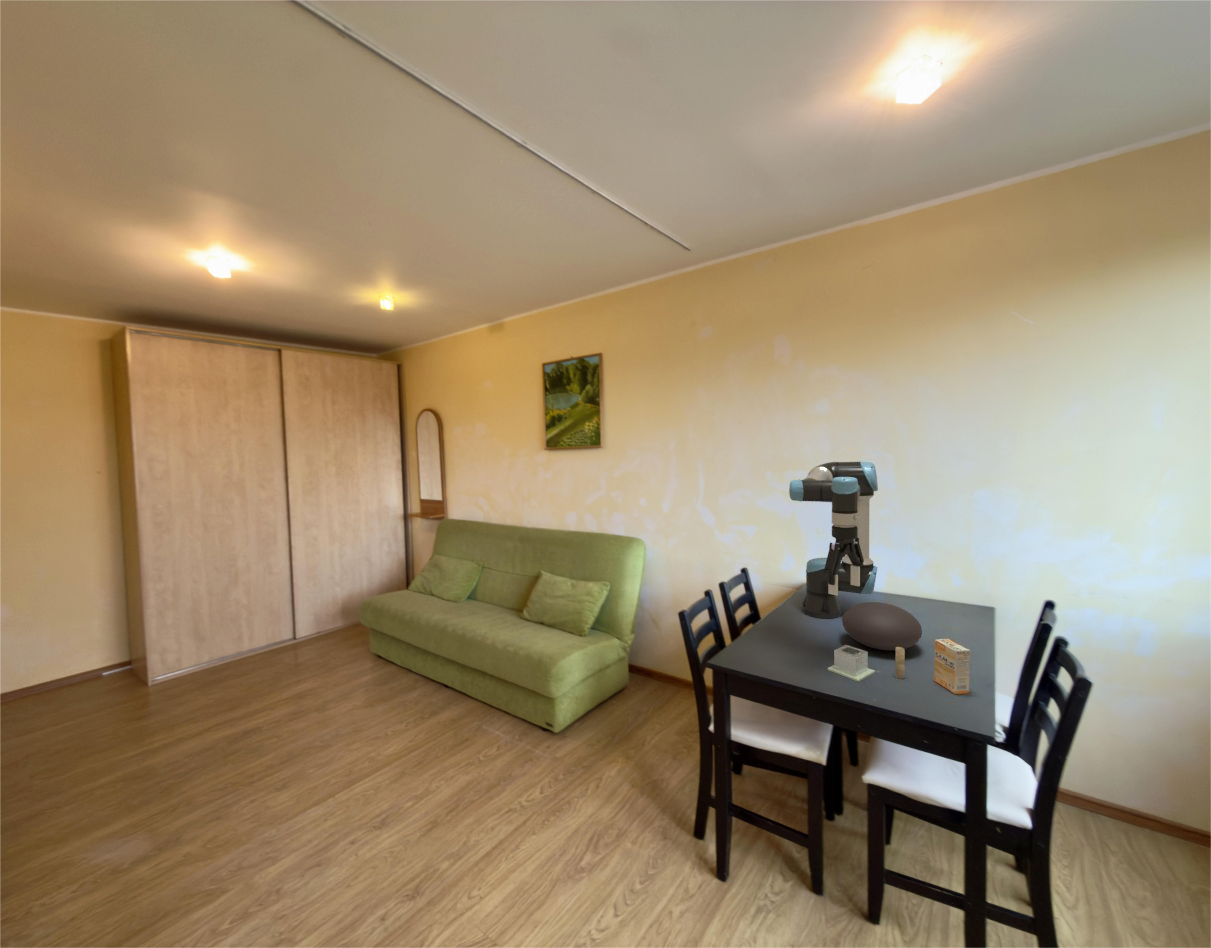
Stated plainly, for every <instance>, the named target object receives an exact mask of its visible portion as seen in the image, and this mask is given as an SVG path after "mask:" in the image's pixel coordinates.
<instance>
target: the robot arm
mask: <svg viewBox="0 0 1211 948" xmlns="http://www.w3.org/2000/svg"><path fill="white" fill-rule="evenodd" d="M788 489H789V491H788V492H789V498H790V500H791V501H793V502H794V501H795V502H801V503H802V502H818V503H820V502H822V503H831V524H832V526H831V536H832V538H834V539H835V542H829V546H828V547H829V548H828V552H827V556H826V557H817V558H811V559H808V561H807V563H806V568H805V574H806V576H805V579H806V585H805V586H806V588H805V589H806V594H805V596H804V599H803V601H802V604H801V611H802V613H803V614H805V615H807V616H810V617H813V618H818V619H835V618H836V619H837V618H839V617H840V616H841V608H840V605H839V601H838V598H837V597H838V595H839V592H843V593H844V592H845V593H852V594H859V595H872V594H873V593H874V591H875V585H876V579H877V572H878V567H877V566H876V565H874V561H873V560H872V559H871V558H870V500H871V498H873V497H874V496H875V492H877V491H879V486H878V477H877V469H876V466H875V464H874V463H873V462H871V461H870V462H869V461H831V462H826V463H822V464H819V465H817V466H814V467H813V468H811V470H809V471H808V473H807V476H806V477H805V478H804V479H800V478H799V479H792V480H790V483H789V488H788Z"/></svg>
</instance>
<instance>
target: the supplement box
mask: <svg viewBox="0 0 1211 948" xmlns="http://www.w3.org/2000/svg"><path fill="white" fill-rule="evenodd" d="M970 666H971V649H969V648H966V647H965V646H963V645H961V644H959V643H957V642H955V641H953V640H952V639H949V638H940V639H935V640H934V665H933V671H934V672H933V681H934V682H935V683H937V684H938V685H940V686H942V687H943V688H945V689H946V690H948V691H950V692H951V693H952V694H954V695H962V694H965V695H966V694H970V677H971V675H970V674H971V673H970V672H971V671H970V670H971V669H970V668H971V667H970Z"/></svg>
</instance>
